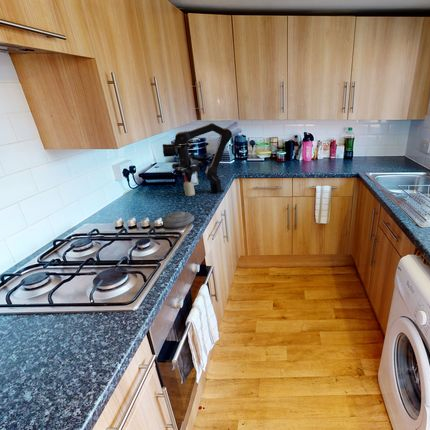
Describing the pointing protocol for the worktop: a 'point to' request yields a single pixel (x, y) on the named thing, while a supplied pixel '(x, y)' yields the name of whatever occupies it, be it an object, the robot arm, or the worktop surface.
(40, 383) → the worktop surface
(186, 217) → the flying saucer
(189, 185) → the bottle
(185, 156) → the robot arm
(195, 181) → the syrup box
